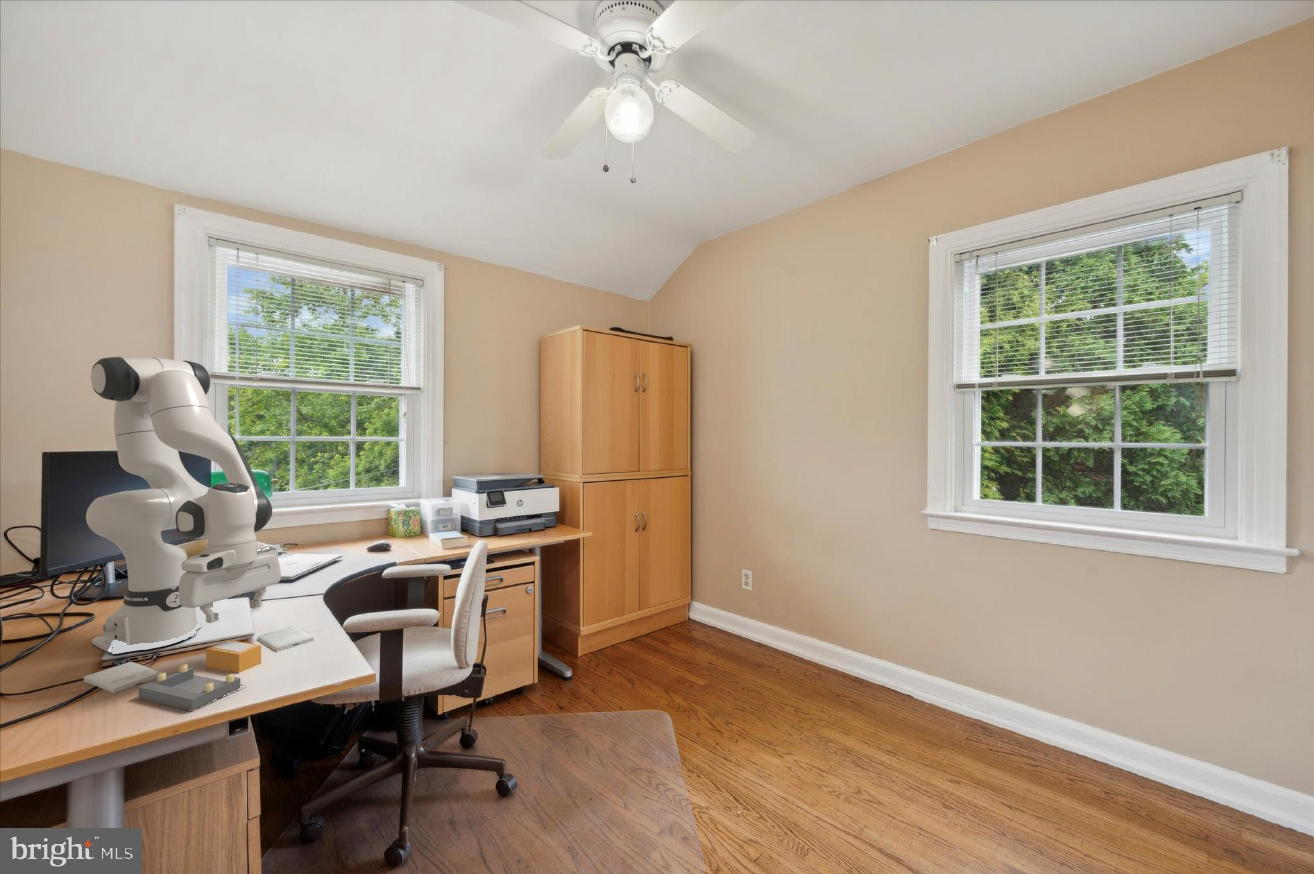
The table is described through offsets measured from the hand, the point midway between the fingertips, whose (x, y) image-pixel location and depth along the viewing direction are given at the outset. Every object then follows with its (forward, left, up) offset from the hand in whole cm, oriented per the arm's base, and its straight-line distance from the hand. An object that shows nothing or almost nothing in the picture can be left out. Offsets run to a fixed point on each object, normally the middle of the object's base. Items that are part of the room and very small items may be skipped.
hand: (234, 614), depth 123 cm
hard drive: (-3, +14, -13) cm, 19 cm away
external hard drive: (-17, -12, -13) cm, 24 cm away
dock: (+4, -11, -12) cm, 17 cm away
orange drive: (-1, 0, -12) cm, 12 cm away
